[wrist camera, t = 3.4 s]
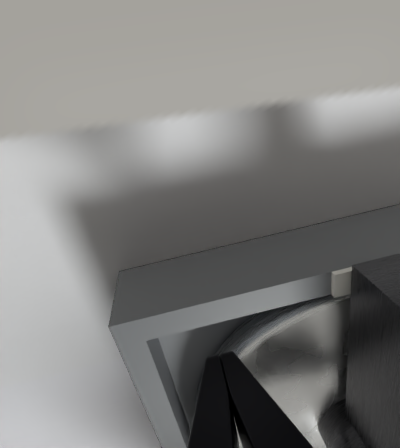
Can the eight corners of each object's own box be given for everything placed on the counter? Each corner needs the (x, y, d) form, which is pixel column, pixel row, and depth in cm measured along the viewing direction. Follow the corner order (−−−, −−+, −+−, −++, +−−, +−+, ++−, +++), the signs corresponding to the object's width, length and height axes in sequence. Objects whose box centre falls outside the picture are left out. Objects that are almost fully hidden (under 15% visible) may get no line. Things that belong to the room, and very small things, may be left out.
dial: (444, 432, 19) (534, 539, 14) (220, 495, 18) (241, 627, 14) (519, 188, 12) (751, 251, 7) (149, 278, 11) (145, 410, 6)
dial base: (198, 479, 20) (205, 550, 17) (119, 271, 13) (107, 331, 10) (437, 413, 21) (486, 469, 18) (502, 179, 13) (608, 207, 10)
